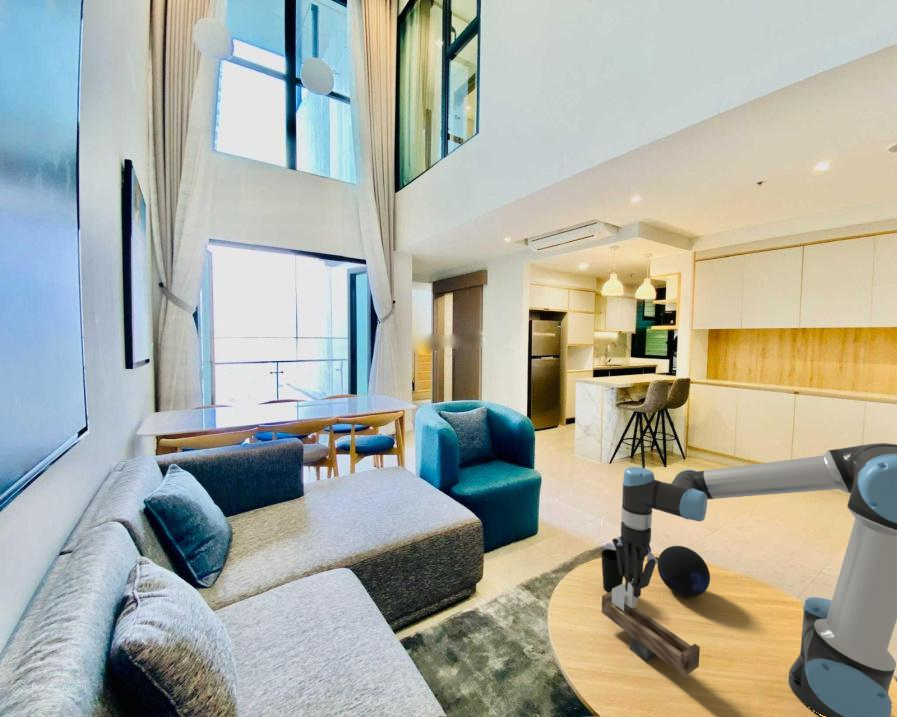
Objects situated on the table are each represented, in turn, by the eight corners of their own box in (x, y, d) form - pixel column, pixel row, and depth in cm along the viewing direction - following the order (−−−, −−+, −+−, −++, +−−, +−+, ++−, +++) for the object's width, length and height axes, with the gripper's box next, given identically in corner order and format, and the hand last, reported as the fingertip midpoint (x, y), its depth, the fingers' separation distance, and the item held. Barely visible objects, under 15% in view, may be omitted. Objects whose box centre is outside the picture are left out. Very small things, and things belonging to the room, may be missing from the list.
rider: (634, 613, 108) (635, 591, 108) (623, 619, 106) (624, 597, 105) (622, 604, 112) (623, 583, 111) (611, 610, 109) (612, 588, 109)
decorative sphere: (695, 614, 117) (698, 568, 116) (647, 587, 129) (649, 545, 128) (717, 596, 125) (719, 553, 124) (670, 572, 138) (672, 532, 137)
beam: (698, 681, 94) (700, 646, 94) (683, 693, 91) (685, 657, 90) (614, 617, 115) (615, 589, 114) (600, 625, 112) (601, 595, 111)
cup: (597, 590, 127) (598, 556, 126) (602, 579, 133) (604, 546, 133) (622, 600, 123) (623, 564, 122) (626, 587, 129) (628, 553, 128)
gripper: (667, 531, 101) (662, 615, 102) (623, 511, 112) (620, 586, 114) (650, 538, 97) (645, 625, 99) (607, 516, 109) (603, 595, 110)
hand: (632, 604), depth 106 cm, fingers closed
